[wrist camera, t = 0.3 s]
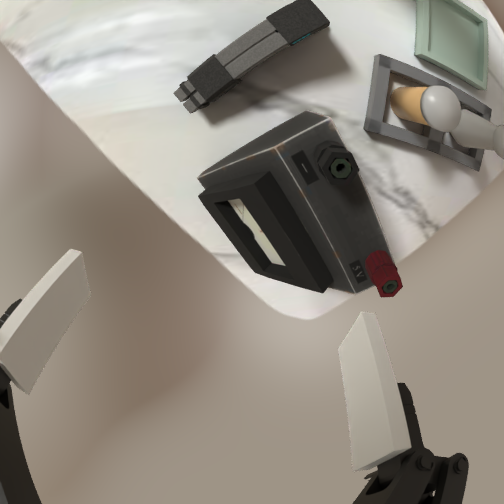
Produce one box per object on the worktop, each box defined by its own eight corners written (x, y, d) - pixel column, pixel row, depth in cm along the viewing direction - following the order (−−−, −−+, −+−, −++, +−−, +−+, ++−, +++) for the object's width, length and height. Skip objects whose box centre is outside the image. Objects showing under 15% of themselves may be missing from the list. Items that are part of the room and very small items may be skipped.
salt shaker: (439, 136, 30) (494, 158, 19) (446, 101, 27) (503, 113, 16) (465, 148, 30) (519, 174, 19) (472, 116, 27) (528, 133, 16)
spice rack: (374, 55, 25) (407, 44, 17) (484, 107, 25) (526, 118, 16) (363, 129, 31) (393, 141, 23) (472, 167, 31) (510, 190, 22)
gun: (335, 29, 24) (328, 20, 17) (225, 100, 36) (191, 117, 30) (314, 4, 22) (299, -12, 15) (208, 79, 35) (170, 91, 28)
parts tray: (415, -16, 17) (422, -20, 15) (479, 21, 16) (487, 20, 15) (414, 55, 24) (421, 53, 22) (478, 89, 24) (486, 90, 22)
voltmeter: (202, 171, 37) (141, 241, 20) (305, 109, 31) (342, 121, 14) (263, 255, 43) (253, 361, 26) (358, 208, 38) (411, 299, 21)
